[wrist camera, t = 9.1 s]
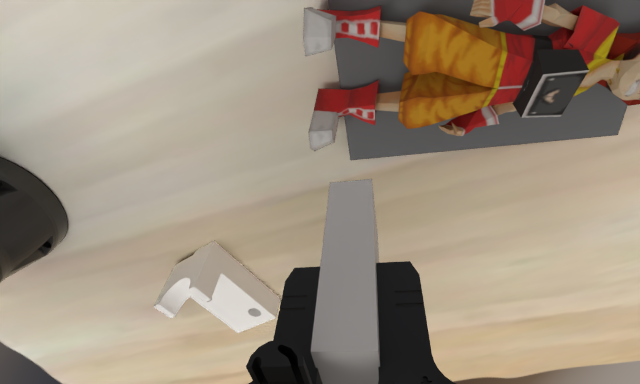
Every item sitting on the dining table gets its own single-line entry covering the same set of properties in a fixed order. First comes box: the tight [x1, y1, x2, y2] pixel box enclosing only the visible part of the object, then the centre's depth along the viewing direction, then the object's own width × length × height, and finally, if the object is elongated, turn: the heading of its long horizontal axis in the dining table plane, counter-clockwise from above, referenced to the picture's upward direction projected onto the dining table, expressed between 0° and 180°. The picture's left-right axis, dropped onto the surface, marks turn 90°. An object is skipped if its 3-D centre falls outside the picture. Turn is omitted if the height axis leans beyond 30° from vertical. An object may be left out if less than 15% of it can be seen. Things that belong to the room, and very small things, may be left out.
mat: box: [328, 0, 640, 160], centre depth 30 cm, size 24×22×1 cm
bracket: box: [154, 241, 280, 333], centre depth 49 cm, size 13×7×8 cm, turn 36°
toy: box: [303, 0, 640, 151], centre depth 28 cm, size 12×9×30 cm
